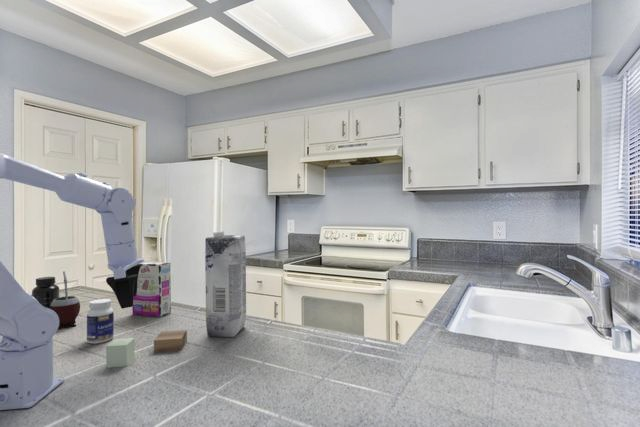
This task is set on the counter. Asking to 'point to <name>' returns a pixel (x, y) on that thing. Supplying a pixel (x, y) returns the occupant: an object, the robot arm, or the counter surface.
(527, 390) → the counter surface
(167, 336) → the walnut block
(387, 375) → the counter surface
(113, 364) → the sage block
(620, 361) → the counter surface
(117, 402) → the counter surface
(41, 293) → the supplement bottle
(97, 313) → the pill bottle
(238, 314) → the juice carton
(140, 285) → the candy bar box
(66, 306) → the mate gourd
